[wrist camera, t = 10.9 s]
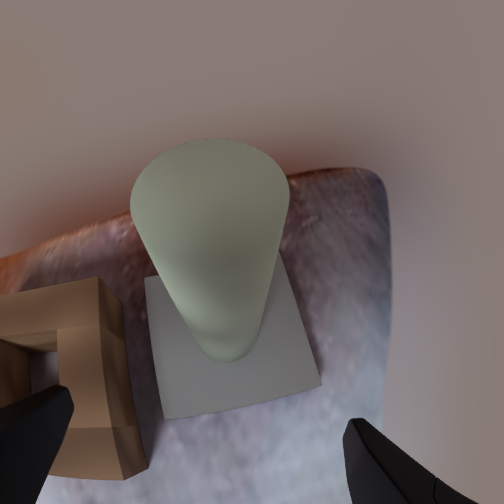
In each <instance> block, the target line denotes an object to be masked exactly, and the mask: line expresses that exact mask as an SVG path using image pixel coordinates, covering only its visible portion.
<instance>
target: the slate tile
mask: <svg viewBox="0 0 504 504" xmlns="http://www.w3.org/2000/svg"><path fill="white" fill-rule="evenodd" d="M144 283H145V294H146V304H147V314H148V322H149V331H150V338H151V346H152V352H153V359H154V366H155V372H156V378H157V383H158V389H159V394H160V400H161V405H162V410H163V414H164V419H165V420H169V419H177V418H184V417H191V416H197V415H203V414H209V413H215V412H220V411H225V410H230V409H235V408H240V407H245V406H249V405H253V404H258V403H262V402H266V401H270V400H274V399H278V398H281V397H285V396H289V395H292V394H296V393H299V392H303V391H306V390H309V389H313V388H316V387H319V386H321V385H322V383H321V380H320V377H319V373H318V370H317V367H316V364H315V360H314V357H313V354H312V351H311V347H310V344H309V341H308V338H307V335H306V332H305V328H304V325H303V322H302V319H301V316H300V313H299V310H298V307H297V303H296V300H295V297H294V294H293V291H292V288H291V285H290V282H289V279H288V276H287V273H286V270H285V267H284V264H283V261H282V258H281V255H280V252H279V251H278V254H277V258H276V263H275V267H274V271H273V275H272V279H271V283H270V287H269V292H268V296H267V300H266V304H265V308H264V312H263V316H262V320H261V324H260V328H259V332H258V335H257V339H256V342H255V345H254V347H253V348H252V350H251V351H250V352H249V353H248V354H247V355H246V356H245V357H243V358H241V359H239V360H237V361H233V362H220V361H216V360H213V359H211V358H209V357H208V356H206V355H205V354H204V353H203V352H202V351H201V349H200V348H199V346H198V344H197V343H196V341H195V339H194V338H193V336H192V334H191V332H190V331H189V329H188V327H187V325H186V324H185V322H184V320H183V318H182V317H181V315H180V313H179V311H178V309H177V308H176V306H175V304H174V302H173V300H172V298H171V296H170V295H169V293H168V291H167V289H166V287H165V285H164V283H163V281H162V279H161V277H160V275H156V276H151V277H146V278H144Z"/></svg>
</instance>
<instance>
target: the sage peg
mask: <svg viewBox="0 0 504 504" xmlns="http://www.w3.org/2000/svg"><path fill="white" fill-rule="evenodd" d="M289 200H290V190H289V185H288V182H287V179H286V176H285V174H284V173H283V171H282V169H281V168H280V167H279V165H278V164H277V163H276V162H275V161H274V160H273V159H272V158H271V157H269V156H268V155H267V154H266V153H264V152H263V151H261V150H259V149H258V148H255V147H253V146H251V145H249V144H245V143H242V142H239V141H234V140H228V139H202V140H196V141H192V142H187V143H184V144H181V145H178V146H176V147H173V148H171V149H169V150H168V151H166V152H164V153H162V154H161V155H159V156H158V157H156V158H155V159H154V160H153V161H152V162H150V163H149V164H148V165H147V167H146V168H145V169H144V170H143V171H142V173H141V174H140V175H139V177H138V179H137V181H136V182H135V185H134V187H133V190H132V194H131V199H130V209H131V215H132V219H133V222H134V224H135V226H136V228H137V231H138V233H139V235H140V237H141V239H142V241H143V243H144V245H145V247H146V249H147V252H148V254H149V256H150V258H151V260H152V262H153V264H154V266H155V268H156V270H157V272H158V274H159V275H160V277H161V279H162V281H163V283H164V285H165V287H166V289H167V291H168V293H169V295H170V296H171V298H172V300H173V302H174V304H175V306H176V308H177V309H178V311H179V313H180V315H181V317H182V318H183V320H184V322H185V324H186V325H187V327H188V329H189V331H190V332H191V334H192V336H193V338H194V339H195V341H196V343H197V344H198V346H199V348H200V349H201V351H202V352H203V353H204V354H205V355H206V356H208V357H209V358H211V359H213V360H216V361H220V362H233V361H237V360H239V359H241V358H243V357H245V356H246V355H247V354H248V353H249V352H250V351H251V350H252V348H253V347H254V345H255V342H256V339H257V335H258V332H259V328H260V324H261V320H262V316H263V312H264V308H265V304H266V300H267V296H268V292H269V287H270V283H271V279H272V275H273V271H274V267H275V263H276V258H277V254H278V250H279V246H280V241H281V237H282V233H283V229H284V224H285V220H286V215H287V211H288V207H289Z"/></svg>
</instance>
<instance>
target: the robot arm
mask: <svg viewBox="0 0 504 504" xmlns="http://www.w3.org/2000/svg"><path fill="white" fill-rule="evenodd" d="M73 412H74V403H73V400H72V397H71V394H70V391H69V389H68V388H67V387H65V386H62V385H59V384H56V385H54V386H52V387H49V388H47V389H45V390H42V391H40V392H38V393H35V394H33V395H31V396H28V397H26V398H24V399H21V400H19V401H16V402H14V403H12V404H9V405H7V406H4V407H2V408H0V504H35V503H36V501H37V499H38V496H39V494H40V491H41V489H42V487H43V484H44V482H45V480H46V478H47V475H48V473H49V471H50V469H51V467H52V464H53V462H54V460H55V458H56V456H57V454H58V452H59V450H60V447H61V445H62V443H63V440H64V437H65V434H66V432H67V429H68V426H69V423H70V420H71V418H72V415H73ZM343 449H344V458H345V467H346V476H347V483H348V487H349V492H350V496H351V500H352V504H478V503H476V502H475V501H473V500H471V499H469V498H467V497H465V496H464V495H462V494H460V493H459V492H457V491H455V490H454V489H453V488H451V487H450V486H448V485H447V484H445V483H444V482H443V481H441V480H440V479H439V478H436V477H435V475H433V474H432V473H430V472H429V471H428V470H427V469H425V468H424V467H423V466H422V465H420V464H419V463H418V462H417V461H415V460H414V459H413V458H411V457H410V456H409V455H408V454H406V453H405V452H404V451H403V450H401V449H400V448H399V447H398V446H397V445H395V444H394V443H393V442H392V441H390V440H389V439H388V438H387V437H386V436H384V435H383V434H382V433H381V432H379V431H378V430H377V429H376V428H375V427H373V426H372V425H371V424H370V423H369V422H368V421H366V420H365V419H364V418H352V419H350V420H349V422H348V424H347V427H346V430H345V432H344V435H343Z"/></svg>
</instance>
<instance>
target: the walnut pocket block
mask: <svg viewBox="0 0 504 504" xmlns="http://www.w3.org/2000/svg"><path fill="white" fill-rule="evenodd" d="M54 351H58V370H59V383H60V385H62V386H65V387H67V388H68V389H69V391H70V394H71V397H72V400H73V403H74V412H73V415H72V418H71V420H70V423H69V426H68V429H67V432H66V434H65V437H64V440H63V443H62V445H61V447H60V450H59V452H58V454H57V456H56V458H55V460H54V462H53V464H52V467H51V469H50V471H49V473H48V475H53V476H61V477H70V478H80V479H95V480H126V479H128V478H130V477H132V476H134V475H136V474H138V473H140V472H142V471H144V470H146V469H148V466H147V462H146V459H145V454H144V450H143V446H142V442H141V437H140V433H139V428H138V423H137V418H136V413H135V407H134V402H133V396H132V390H131V383H130V376H129V369H128V362H127V354H126V345H125V335H124V324H123V311H122V302H121V301H120V300H119V299H118V298H117V297H116V296H115V295H114V293H113V292H112V291H111V290H110V289H109V288H108V287H107V286H106V284H105V283H104V282H103V281H102V280H101V279H100V278H99V276H96V277H91V278H86V279H81V280H76V281H71V282H66V283H62V284H57V285H52V286H47V287H42V288H37V289H32V290H27V291H22V292H18V293H13V294H8V295H3V296H0V408H2V407H4V406H7V405H9V404H12V403H14V402H16V401H19V400H21V399H24V398H26V397H28V396H31V386H30V369H29V354H32V353H44V352H54Z"/></svg>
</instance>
